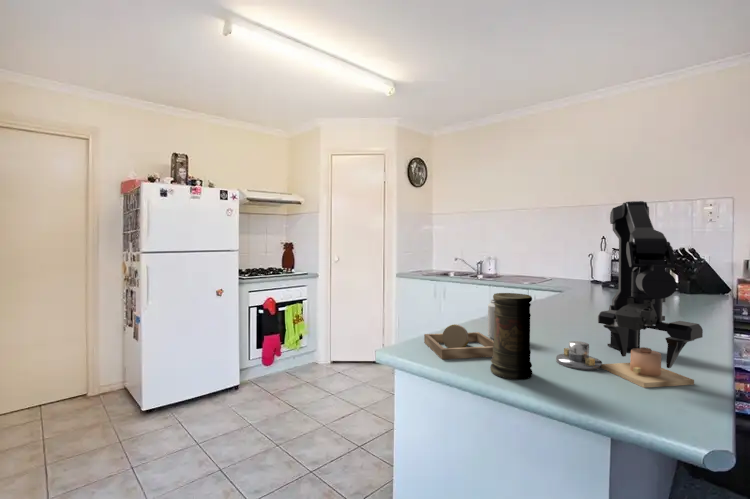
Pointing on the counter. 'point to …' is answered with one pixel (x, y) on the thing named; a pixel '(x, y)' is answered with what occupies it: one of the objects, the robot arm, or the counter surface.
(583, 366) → the metal flange
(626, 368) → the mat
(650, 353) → the cap
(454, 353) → the coaster frame
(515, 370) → the container
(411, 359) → the counter surface
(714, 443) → the counter surface
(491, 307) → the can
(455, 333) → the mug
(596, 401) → the counter surface
